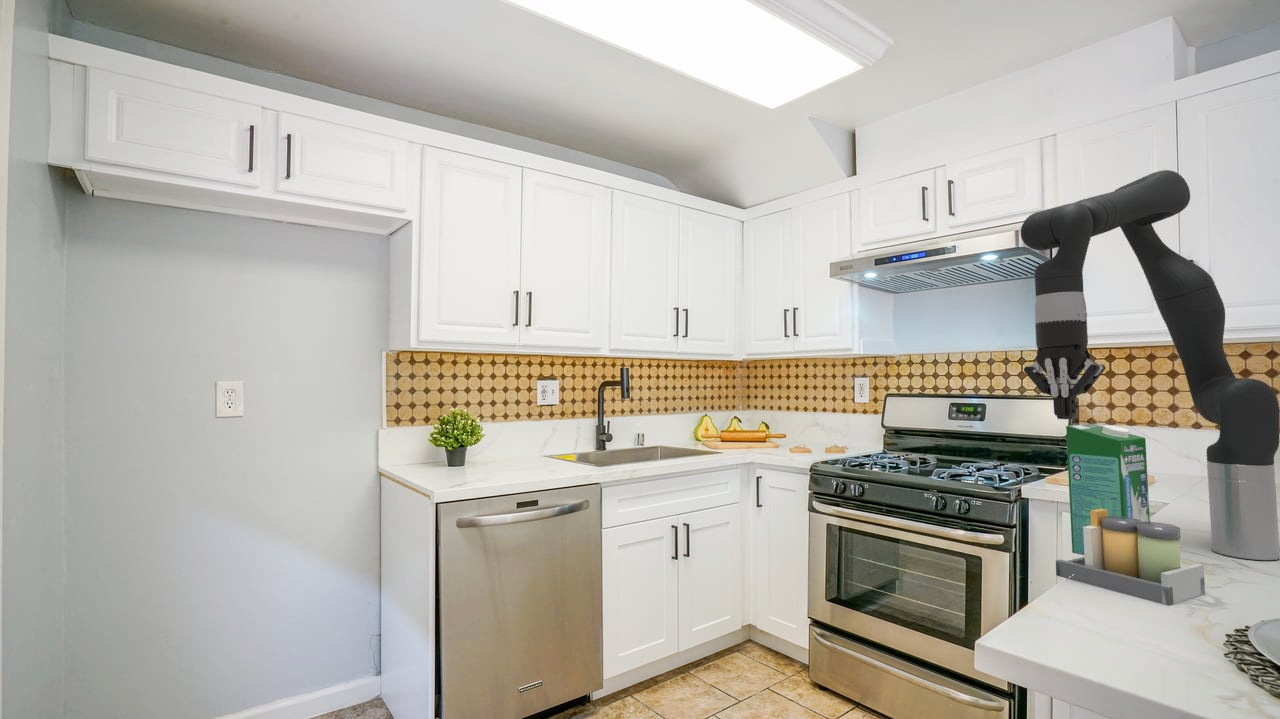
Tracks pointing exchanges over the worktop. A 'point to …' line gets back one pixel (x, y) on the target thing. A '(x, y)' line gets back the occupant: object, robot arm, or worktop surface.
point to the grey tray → (1139, 581)
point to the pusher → (1094, 540)
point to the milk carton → (1105, 476)
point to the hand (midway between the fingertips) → (1065, 418)
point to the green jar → (1157, 549)
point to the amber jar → (1120, 545)
